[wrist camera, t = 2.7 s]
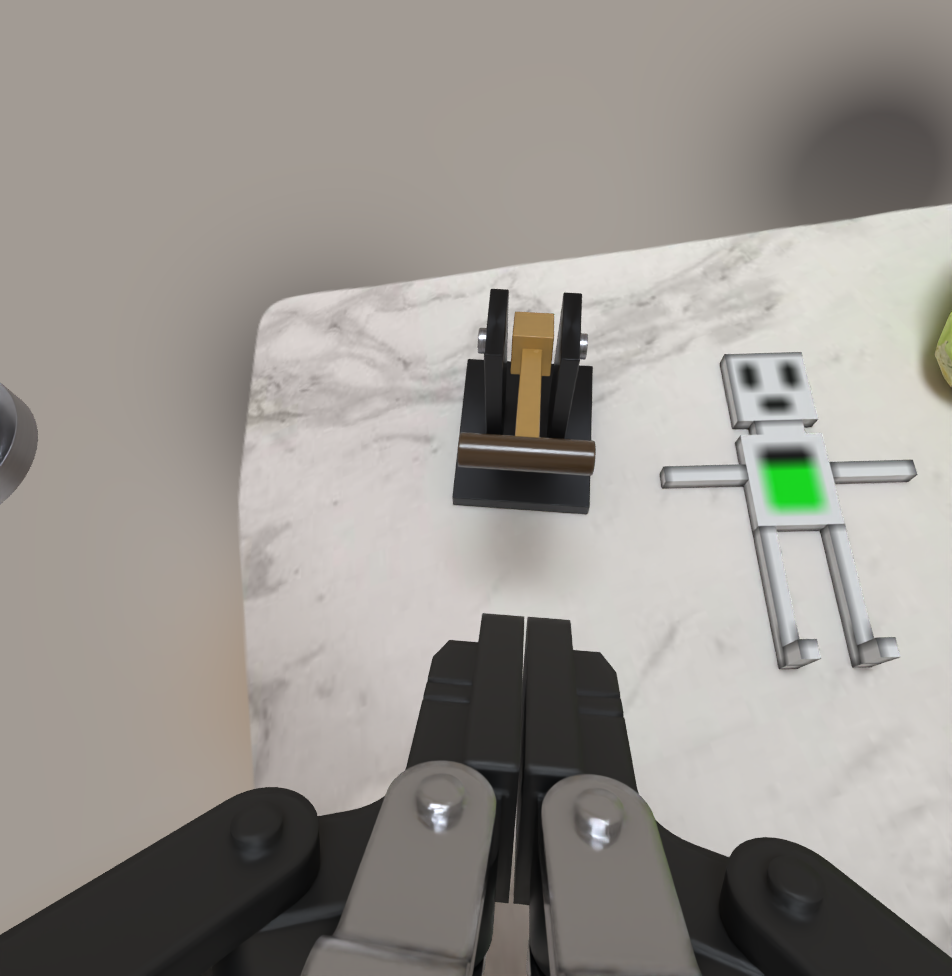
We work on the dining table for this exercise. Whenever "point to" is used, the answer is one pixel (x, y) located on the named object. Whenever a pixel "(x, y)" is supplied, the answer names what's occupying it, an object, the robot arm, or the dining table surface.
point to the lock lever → (528, 414)
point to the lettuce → (945, 351)
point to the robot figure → (793, 496)
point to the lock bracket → (496, 413)
